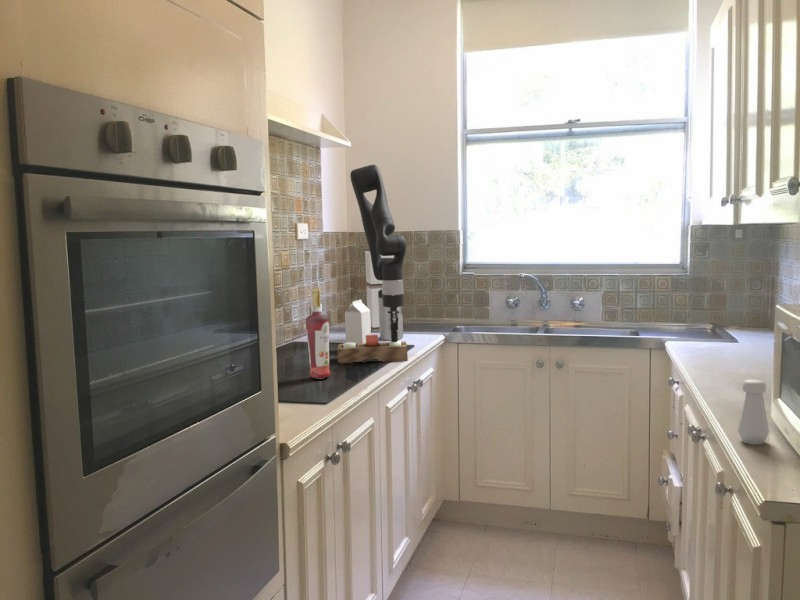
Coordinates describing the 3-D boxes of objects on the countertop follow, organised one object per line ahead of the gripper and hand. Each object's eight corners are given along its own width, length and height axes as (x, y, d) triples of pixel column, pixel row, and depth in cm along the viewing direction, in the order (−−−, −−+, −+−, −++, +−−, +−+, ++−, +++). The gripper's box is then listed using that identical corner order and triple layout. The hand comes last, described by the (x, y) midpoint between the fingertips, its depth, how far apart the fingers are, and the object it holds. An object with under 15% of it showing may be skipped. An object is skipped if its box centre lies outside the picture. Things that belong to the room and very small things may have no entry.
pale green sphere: (343, 354, 238) (342, 344, 238) (343, 352, 242) (343, 342, 242) (355, 354, 238) (355, 344, 238) (356, 351, 243) (355, 342, 242)
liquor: (321, 381, 209) (317, 290, 206) (303, 379, 213) (298, 290, 210) (336, 376, 215) (332, 288, 212) (318, 374, 219) (314, 287, 216)
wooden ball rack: (338, 363, 236) (337, 349, 235) (339, 357, 245) (338, 344, 245) (407, 360, 237) (407, 346, 236) (405, 355, 246) (405, 341, 246)
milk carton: (371, 349, 260) (369, 299, 258) (363, 352, 254) (360, 301, 252) (355, 348, 263) (353, 299, 261) (346, 351, 257) (344, 301, 255)
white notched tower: (396, 330, 303) (393, 251, 298) (372, 332, 300) (369, 252, 296) (390, 326, 314) (388, 250, 310) (368, 328, 311) (365, 251, 307)
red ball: (365, 346, 238) (365, 336, 238) (366, 344, 243) (365, 334, 242) (378, 346, 238) (378, 336, 238) (378, 343, 243) (378, 334, 242)
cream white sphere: (389, 352, 239) (388, 342, 238) (388, 350, 243) (388, 340, 243) (401, 352, 239) (401, 342, 239) (401, 349, 243) (400, 340, 243)
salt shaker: (739, 435, 146) (741, 376, 145) (770, 439, 143) (771, 378, 141) (735, 443, 141) (736, 382, 140) (766, 448, 138) (768, 385, 137)
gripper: (381, 291, 245) (383, 339, 247) (382, 295, 232) (384, 345, 234) (402, 290, 245) (404, 338, 247) (404, 294, 232) (406, 344, 234)
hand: (394, 341), depth 241 cm, fingers closed
